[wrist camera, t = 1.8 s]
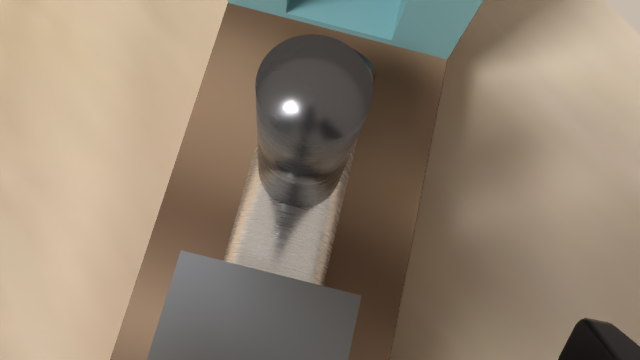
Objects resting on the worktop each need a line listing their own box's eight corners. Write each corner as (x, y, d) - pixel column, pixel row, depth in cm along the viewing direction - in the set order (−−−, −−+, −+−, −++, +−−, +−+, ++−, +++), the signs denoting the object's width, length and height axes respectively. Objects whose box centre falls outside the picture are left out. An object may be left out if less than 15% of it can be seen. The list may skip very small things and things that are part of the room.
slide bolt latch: (307, 717, 17) (330, 913, 11) (29, 651, 17) (-100, 812, 11) (447, 11, 24) (507, -104, 18) (253, -40, 24) (248, -172, 18)
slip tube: (262, 546, 16) (259, 713, 8) (151, 519, 16) (49, 662, 8) (367, 98, 20) (428, -58, 12) (278, 76, 20) (286, -95, 12)
